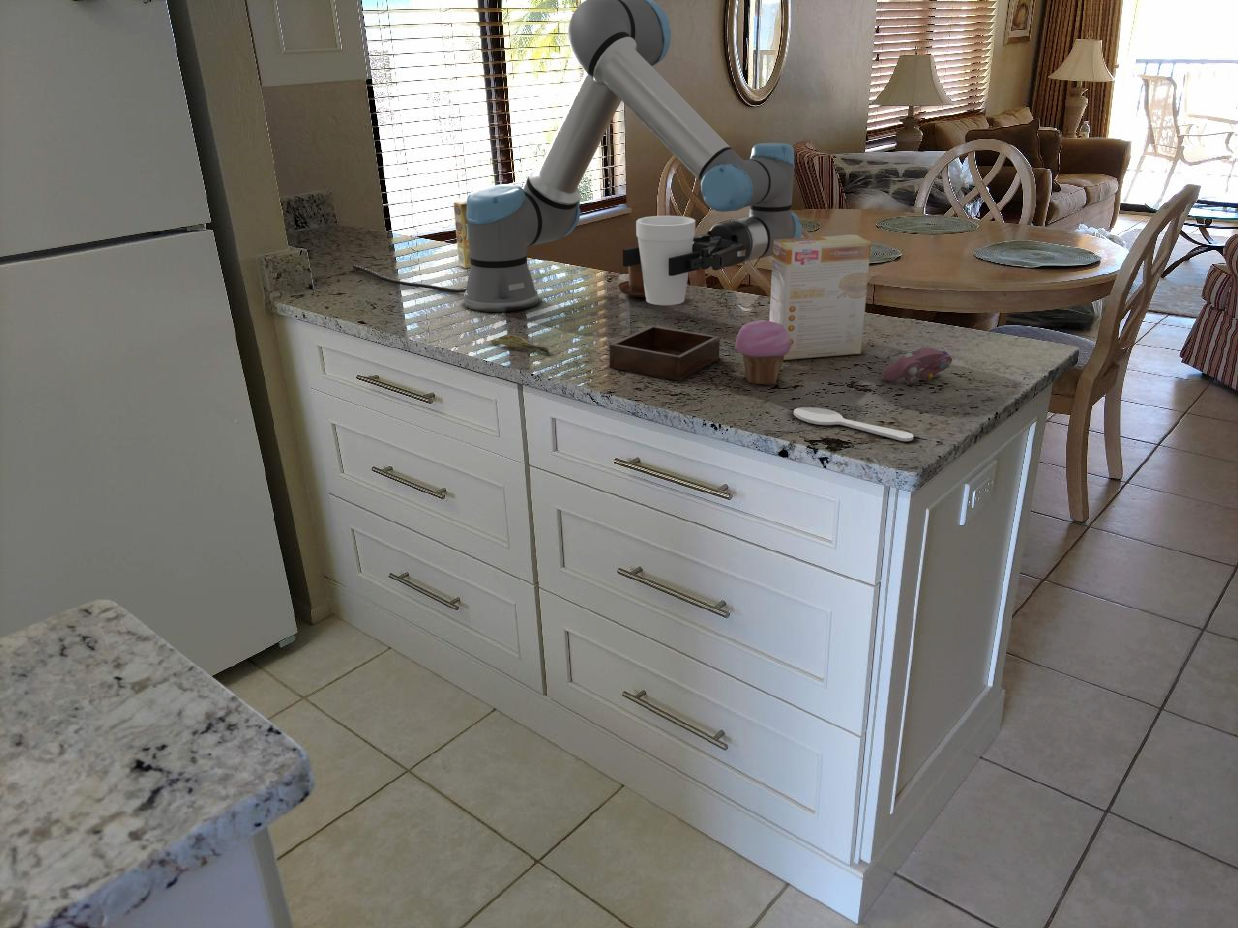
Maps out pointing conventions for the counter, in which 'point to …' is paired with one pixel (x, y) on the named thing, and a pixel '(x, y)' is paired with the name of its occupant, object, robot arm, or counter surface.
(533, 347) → the olive green tapered piece
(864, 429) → the spoon
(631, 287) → the cup and saucer
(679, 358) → the wooden tray
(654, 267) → the foam cup
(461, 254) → the candy box
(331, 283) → the counter surface
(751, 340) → the cupcake
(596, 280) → the counter surface
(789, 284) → the coffeecake box
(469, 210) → the robot arm
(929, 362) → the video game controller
